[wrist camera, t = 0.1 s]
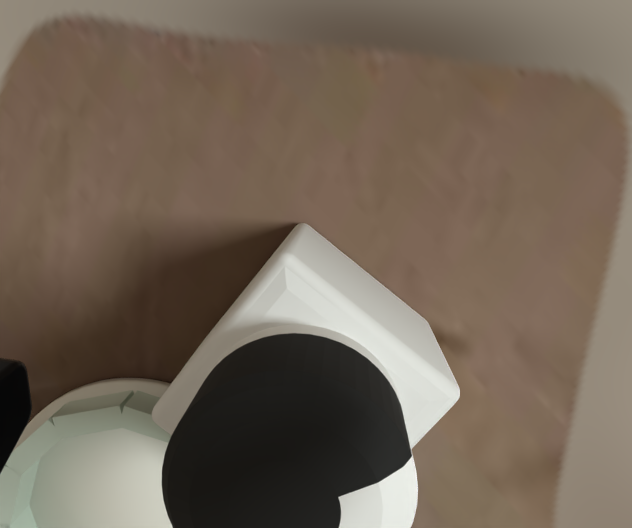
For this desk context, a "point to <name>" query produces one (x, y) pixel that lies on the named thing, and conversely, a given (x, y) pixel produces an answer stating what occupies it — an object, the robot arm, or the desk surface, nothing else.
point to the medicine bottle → (304, 401)
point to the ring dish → (90, 461)
